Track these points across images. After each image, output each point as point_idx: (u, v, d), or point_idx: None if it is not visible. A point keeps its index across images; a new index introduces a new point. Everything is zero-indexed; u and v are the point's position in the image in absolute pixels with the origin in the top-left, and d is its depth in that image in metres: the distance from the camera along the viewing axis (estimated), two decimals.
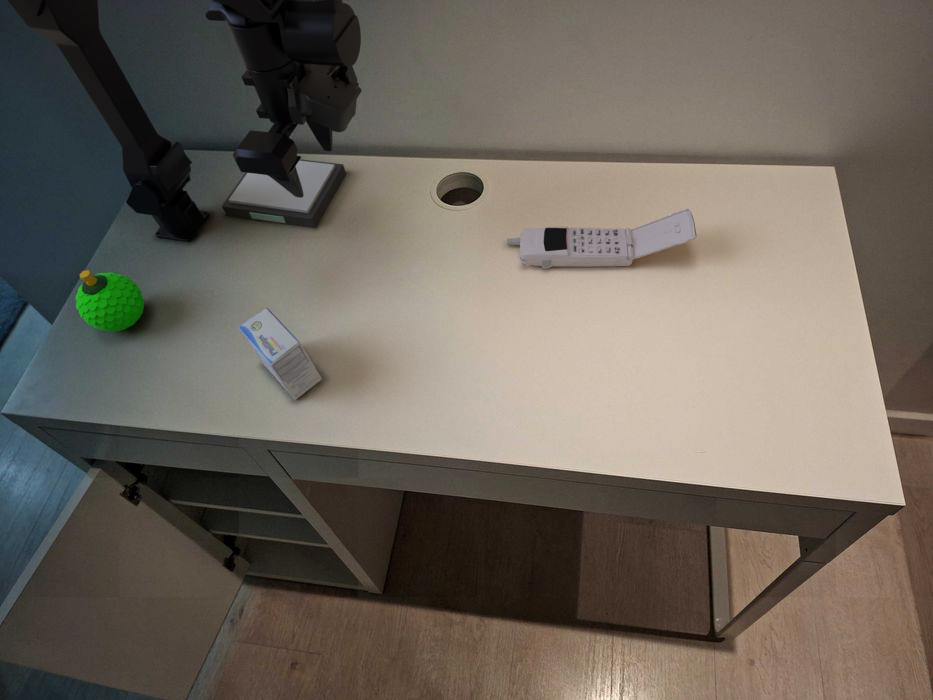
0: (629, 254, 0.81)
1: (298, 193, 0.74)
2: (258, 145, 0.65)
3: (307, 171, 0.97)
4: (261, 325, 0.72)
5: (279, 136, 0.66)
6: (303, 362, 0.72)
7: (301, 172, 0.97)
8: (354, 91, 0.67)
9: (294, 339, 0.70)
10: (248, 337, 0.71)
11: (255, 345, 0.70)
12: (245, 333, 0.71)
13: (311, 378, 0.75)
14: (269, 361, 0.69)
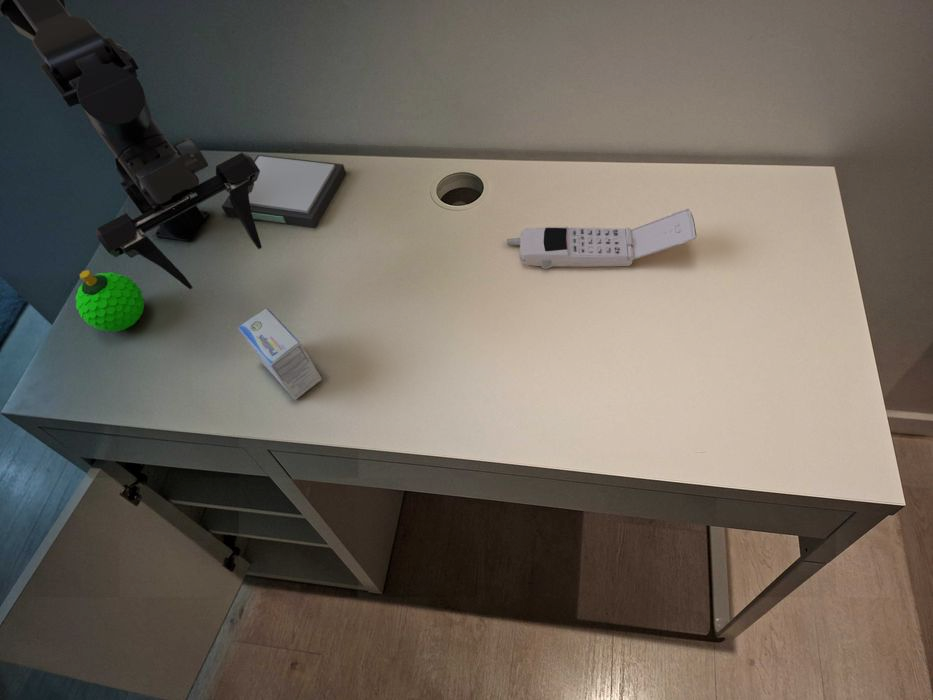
0: (629, 254, 0.81)
1: (182, 283, 0.69)
2: None
3: (307, 171, 0.97)
4: (261, 325, 0.72)
5: (122, 215, 0.65)
6: (303, 362, 0.72)
7: (301, 172, 0.97)
8: (173, 160, 0.61)
9: (294, 339, 0.70)
10: (248, 337, 0.71)
11: (255, 345, 0.70)
12: (245, 333, 0.71)
13: (311, 378, 0.75)
14: (269, 361, 0.69)
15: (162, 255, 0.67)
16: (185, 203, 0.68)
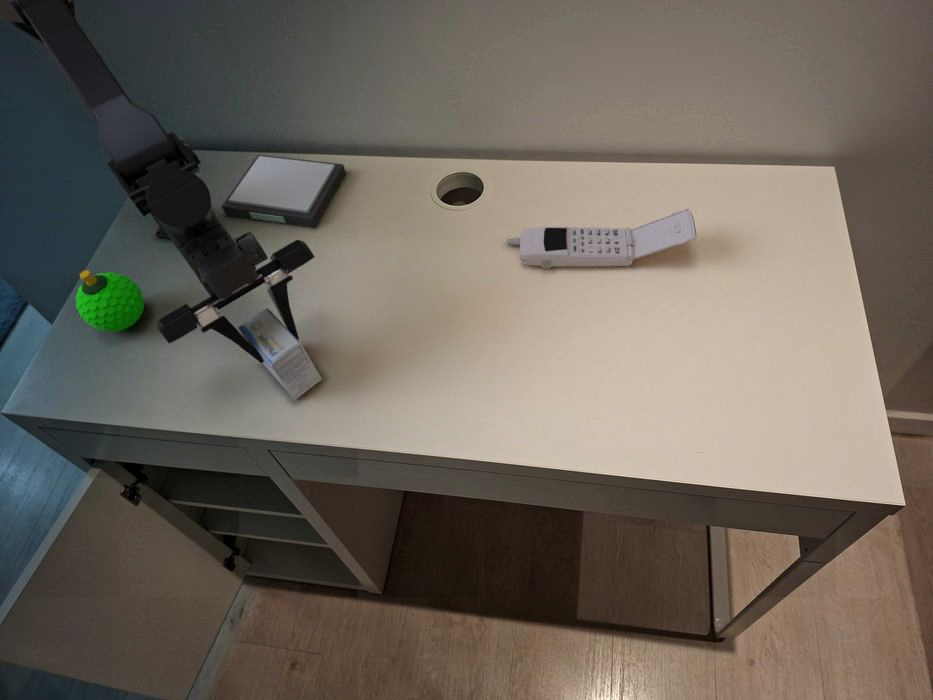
0: (629, 254, 0.81)
1: None
2: None
3: (307, 171, 0.97)
4: (261, 325, 0.72)
5: (182, 306, 0.66)
6: (303, 362, 0.72)
7: (301, 172, 0.97)
8: (236, 256, 0.62)
9: (294, 339, 0.70)
10: (248, 337, 0.71)
11: (255, 345, 0.70)
12: (245, 333, 0.71)
13: (311, 378, 0.75)
14: (269, 361, 0.69)
15: (236, 332, 0.69)
16: (241, 289, 0.69)
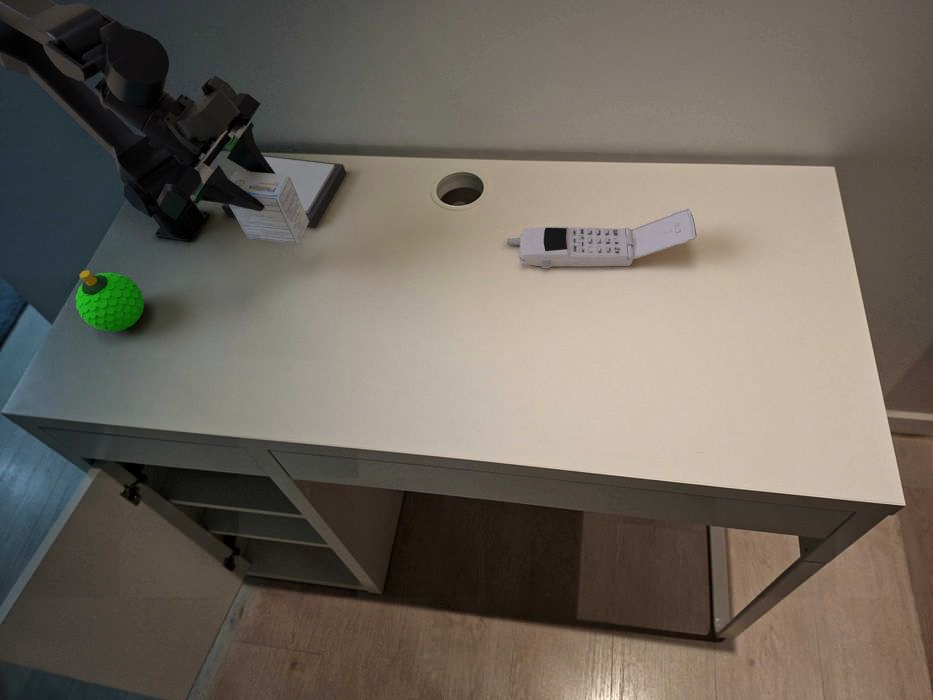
0: (629, 254, 0.81)
1: (255, 205, 0.76)
2: None
3: (307, 171, 0.97)
4: (243, 181, 0.77)
5: (178, 168, 0.69)
6: (295, 198, 0.79)
7: (301, 172, 0.97)
8: (217, 92, 0.67)
9: (282, 175, 0.77)
10: None
11: (251, 194, 0.75)
12: None
13: (303, 218, 0.82)
14: (274, 196, 0.75)
15: (232, 183, 0.73)
16: (214, 150, 0.74)
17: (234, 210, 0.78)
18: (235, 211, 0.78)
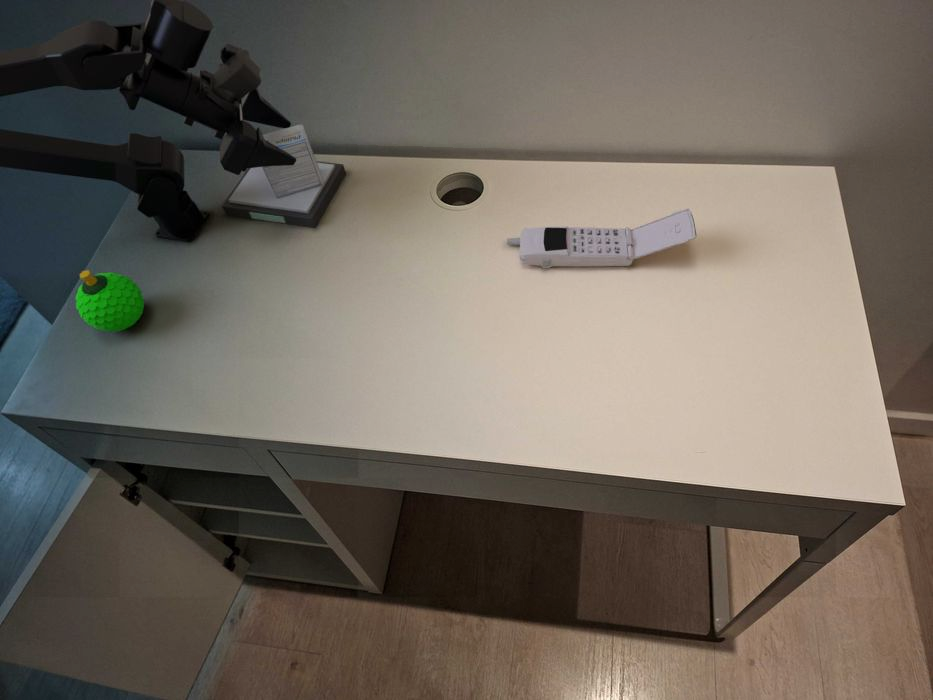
0: (629, 254, 0.81)
1: (290, 159, 0.86)
2: (227, 144, 0.79)
3: None
4: None
5: (231, 126, 0.79)
6: None
7: None
8: (241, 52, 0.79)
9: None
10: None
11: (282, 146, 0.87)
12: None
13: None
14: (303, 140, 0.88)
15: (269, 142, 0.83)
16: None
17: (265, 170, 0.89)
18: (266, 171, 0.89)
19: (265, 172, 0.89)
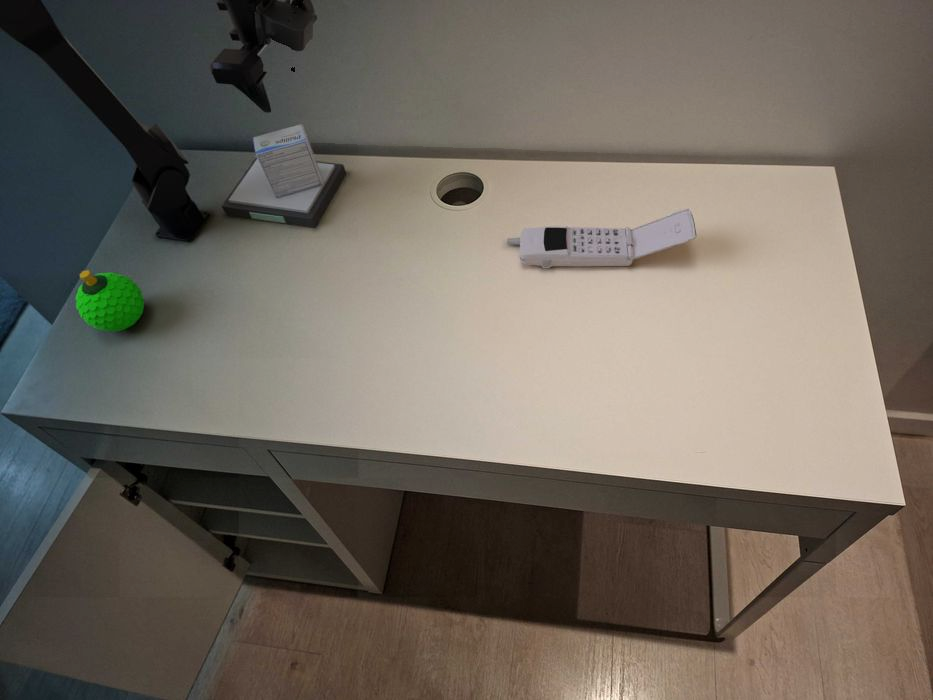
0: (629, 254, 0.81)
1: (266, 108, 0.88)
2: (230, 59, 0.79)
3: None
4: (267, 141, 0.88)
5: (248, 52, 0.80)
6: None
7: None
8: (310, 17, 0.81)
9: None
10: (270, 149, 0.87)
11: (282, 146, 0.87)
12: (265, 150, 0.87)
13: None
14: (303, 140, 0.88)
15: (263, 85, 0.85)
16: None
17: (265, 170, 0.89)
18: (266, 171, 0.89)
19: (265, 172, 0.89)
